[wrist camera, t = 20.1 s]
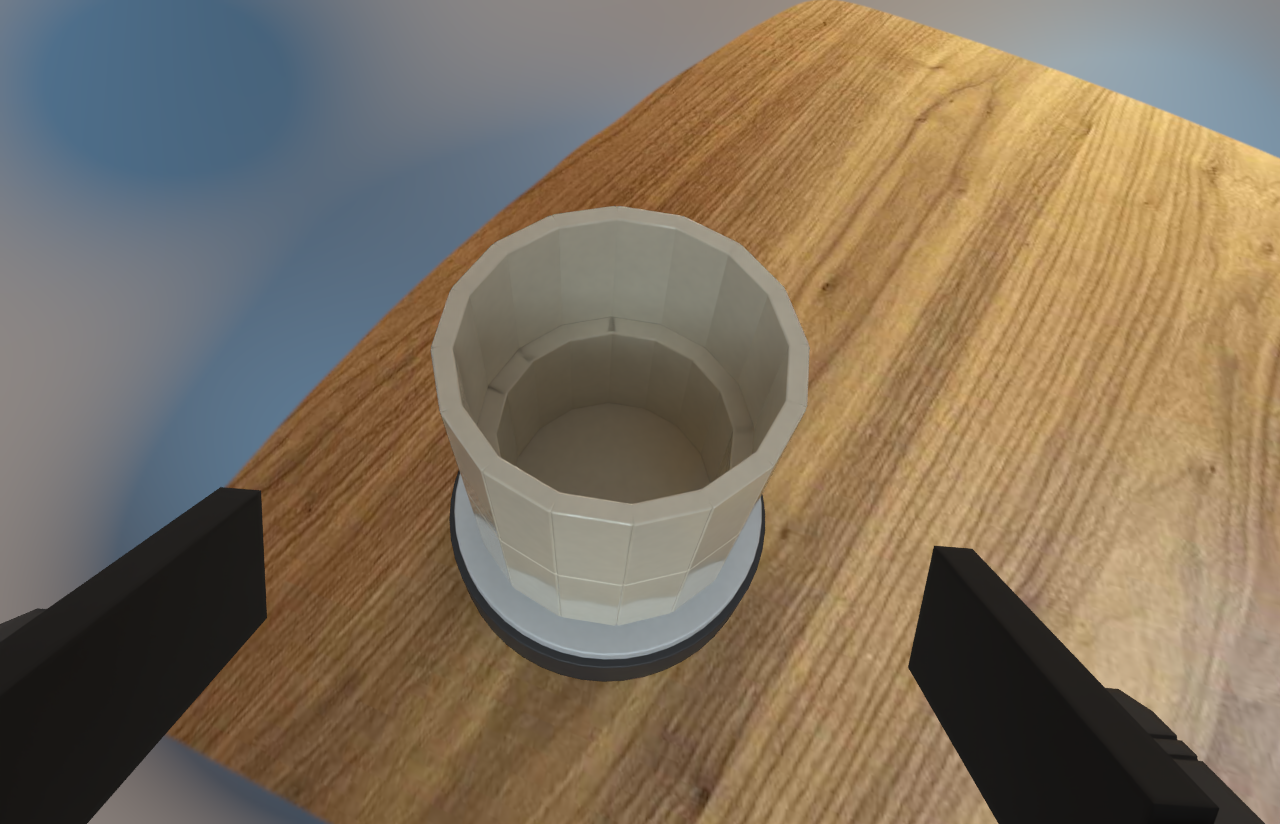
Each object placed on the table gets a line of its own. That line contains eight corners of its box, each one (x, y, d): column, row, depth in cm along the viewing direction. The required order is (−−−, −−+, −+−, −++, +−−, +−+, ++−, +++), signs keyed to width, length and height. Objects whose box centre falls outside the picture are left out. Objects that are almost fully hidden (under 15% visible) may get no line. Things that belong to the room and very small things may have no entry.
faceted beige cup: (503, 659, 28) (461, 563, 18) (462, 412, 32) (412, 233, 23) (773, 593, 29) (866, 475, 20) (697, 369, 34) (742, 186, 25)
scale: (483, 717, 30) (472, 703, 27) (441, 430, 36) (427, 391, 33) (792, 639, 32) (815, 617, 29) (705, 381, 38) (716, 340, 35)
